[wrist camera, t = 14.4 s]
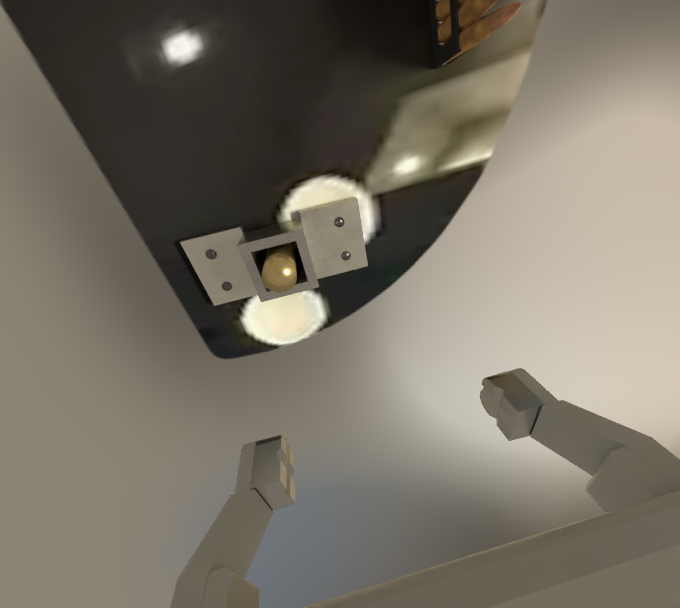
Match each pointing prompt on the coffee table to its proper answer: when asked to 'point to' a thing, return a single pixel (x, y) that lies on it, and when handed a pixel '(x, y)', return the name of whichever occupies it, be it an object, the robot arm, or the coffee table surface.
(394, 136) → the coffee table surface
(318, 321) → the coffee table surface
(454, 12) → the ammunition clip
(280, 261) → the hinge pin
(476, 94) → the coffee table surface
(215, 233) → the hinge
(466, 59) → the coffee table surface
